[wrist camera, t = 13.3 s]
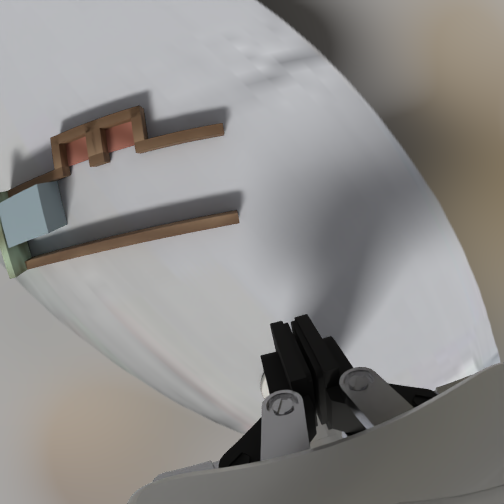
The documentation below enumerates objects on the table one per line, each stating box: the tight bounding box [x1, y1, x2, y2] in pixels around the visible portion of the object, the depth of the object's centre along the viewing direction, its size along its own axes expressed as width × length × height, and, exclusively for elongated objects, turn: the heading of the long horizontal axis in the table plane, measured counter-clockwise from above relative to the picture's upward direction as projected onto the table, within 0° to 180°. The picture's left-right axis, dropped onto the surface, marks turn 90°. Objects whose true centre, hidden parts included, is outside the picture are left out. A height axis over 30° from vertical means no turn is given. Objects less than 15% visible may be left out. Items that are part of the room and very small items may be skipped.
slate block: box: [0, 181, 67, 248], centre depth 28 cm, size 6×8×5 cm
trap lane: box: [0, 106, 239, 279], centre depth 28 cm, size 16×32×5 cm, turn 99°
